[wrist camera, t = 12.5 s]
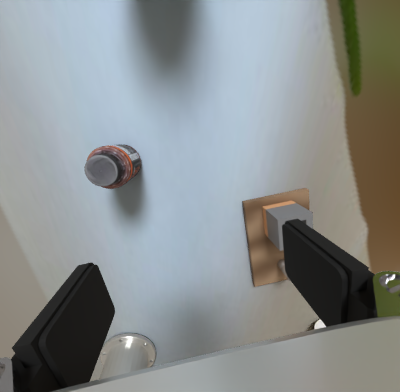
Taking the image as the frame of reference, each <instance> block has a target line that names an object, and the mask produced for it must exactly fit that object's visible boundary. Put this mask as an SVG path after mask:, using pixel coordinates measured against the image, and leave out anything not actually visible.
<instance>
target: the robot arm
mask: <svg viewBox="0 0 400 392" xmlns="http://www.w3.org/2000/svg"><path fill="white" fill-rule="evenodd" d="M282 235H283V249H284V264H285V272H286V274H287V276H288V278H289V279H290V280H291V282H292V283H293V284H294V285H295V287H296V288H297V289H298V291H299V292H300V293H301V295H302V296H303V297H304V298H305V300H306V301H307V302H308V304H309V305H310V306H311V308H312V309H313V310H314V311H315V313H316V314H317V315H318V317H319V318H320V319H321V321H322V322H323V323H324V324H325V326H326V327H324V328H319V329H314V330H309V331H305V332H300V333H296V334H292V335H287V336H283V337H278V338H274V339H270V340H265V341H261V342H256V343H252V344H248V345H243V346H239V347H234V348H230V349H226V350H222V351H217V352H213V353H209V354H204V355H200V356H196V357H192V358H187V359H183V360H179V361H175V362H170V363H166V364H162V365H158V366H153V367H151V366H152V365H153V363H154V361H155V356H156V349H155V346H154V345H153V343H152V342H151V341H150V340H149V339H147V338H146V337H144V336H142V335H139V334H133V333H125V334H120V335H117V336H115V337H113V338H111V339H110V340H108V341H107V342H106V343H105V344H104V341H105V339H106V336H107V333H108V331H109V328H110V325H111V323H112V320H113V317H114V314H115V308H114V305H113V303H112V300H111V298H110V295H109V293H108V290H107V288H106V285H105V283H104V280H103V278H102V275H101V273H100V270H99V268H98V266H97V265H94V264H93V263H87V264H82V265H79V266H77V268H76V269H75V270H74V271H73V273H72V274H71V275H70V276H69V278H68V279H67V280H66V281H65V283H64V284H63V285H62V286H61V288H60V289H59V290H58V291H57V292H56V294H55V295H54V296H53V297H52V299H51V300H50V301H49V302H48V304H47V305H46V306H45V307H44V309H43V310H42V311H41V312H40V314H39V315H38V316H37V318H36V319H35V320H34V321H33V322H32V324H31V325H30V326H29V327H28V329H27V330H26V331H25V332H24V334H23V335H22V336H21V337H20V339H19V340H18V341H17V342H16V343H15V345H14V346H13V347H12V349H13V350H14V352H15V355H14V356H13V357H12V359H10V358H7V357H4V358H0V392H400V272H394V271H382V272H379V273H376V274H373V273H372V272H370V271H369V270H368V268H369V267H367V266H366V265H364V264H363V263H361V262H360V261H358V260H357V259H356V258H354V257H353V256H351V255H350V254H348V253H347V252H345V251H344V250H343V249H341V248H340V247H338V246H337V245H335V244H334V243H332V242H331V241H330V240H328V239H327V238H325V237H324V236H322V235H321V234H319V233H318V232H316V231H315V230H314V229H312V228H311V227H309V226H308V225H306V224H305V223H303V222H302V221H301V220H299V219H293V220H288V221H286V222H285V224H283V225H282ZM103 344H104V346H103ZM102 347H103V348H102ZM101 349H102V351H101ZM100 352H101V354H100ZM99 355H100V360H101V363H102V365H103V369H102V372H101V375H100V378H99V380H95V381H91V382H89V381H90V379H91V376H92V373H93V371H94V368H95V365H96V363H97V360H98V357H99Z"/></svg>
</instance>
